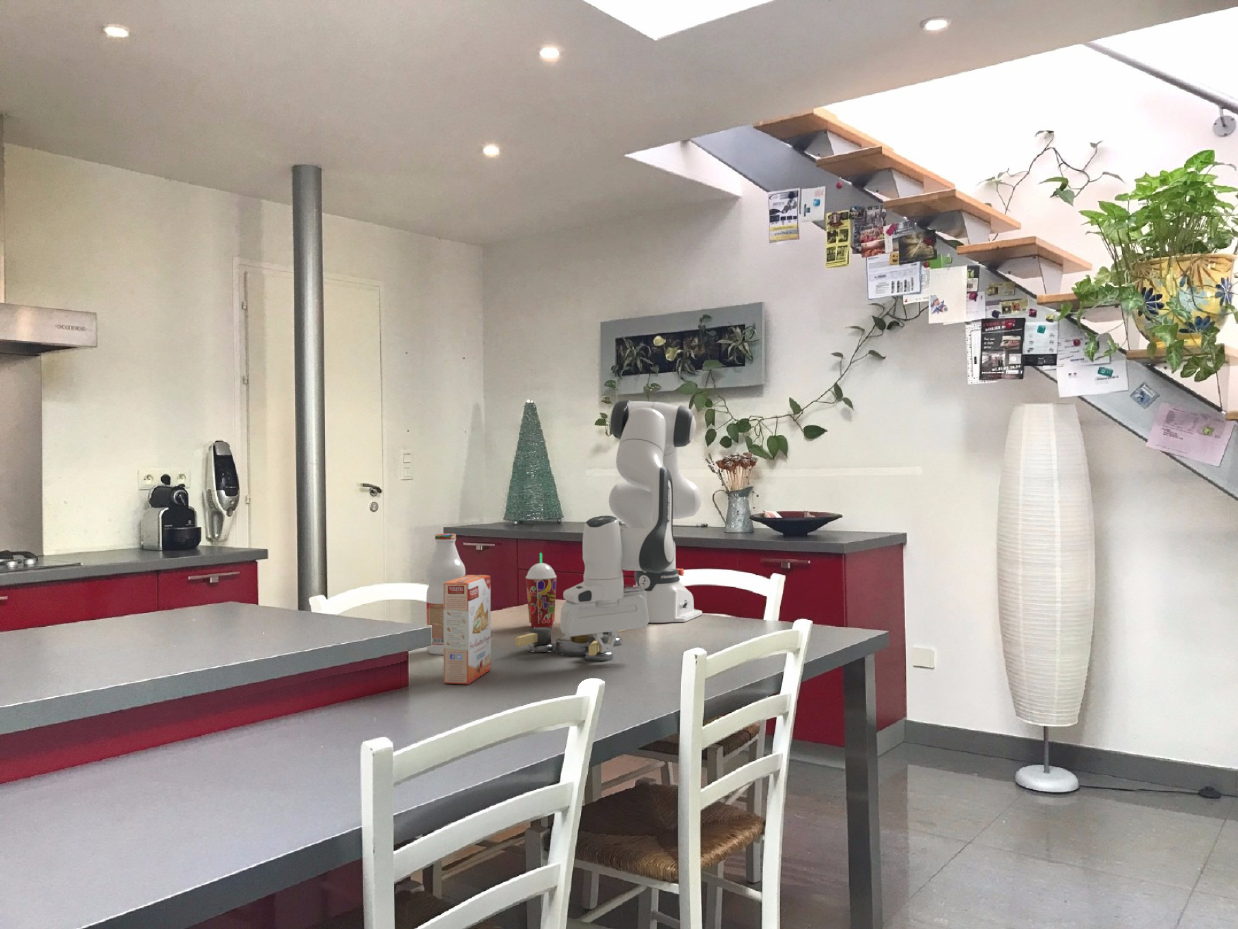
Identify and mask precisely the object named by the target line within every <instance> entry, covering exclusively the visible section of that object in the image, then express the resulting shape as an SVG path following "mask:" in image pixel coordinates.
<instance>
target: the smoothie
mask: <svg viewBox="0 0 1238 929" xmlns="http://www.w3.org/2000/svg"><path fill="white" fill-rule="evenodd" d="M555 572H556V571H555V570H554V569H553V568H552V566H551V565H549V564H547V563H544V562H543V553H542V552H540V553H539V562H537V563H535V564H534V565H532V566H531V567H530V568H529V569H528V572H527V573H526V574H527V575H525V579H526V580H525V583H526V597H527V598H526V599H527V610H528V611H527V612H528V623H530V625H531V626H532V627H531V628H533V627H535V628H538V627H549V628H552V627H553V625H554V624H553V623H554V622H555V620H556V619H555V617H556V616H555V615H556V614H555V613H556V598H557V597H556V594H557V592H556V591H557V575H556V573H555Z"/></svg>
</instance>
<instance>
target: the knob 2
mask: <svg viewBox="0 0 1238 929" xmlns="http://www.w3.org/2000/svg"><path fill="white" fill-rule="evenodd" d="M609 638H610V636H609V635H606V634H603V637H602V638H601V640H602V642H603V643H608V640H609ZM598 652H599V644H598V643H597V641H596V640H595V638H594V637H593V635H589V655H596V654H597V653H598Z"/></svg>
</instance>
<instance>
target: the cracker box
mask: <svg viewBox="0 0 1238 929" xmlns="http://www.w3.org/2000/svg"><path fill="white" fill-rule="evenodd" d="M491 580H492V578H491V575H489V574H488V575H487V574H465V576H463V577H460V578H457V579H454V580H450V581H447V582H444V584H443V588H444V590H443V614H444V655H443V684H452V685H470V684H471V683H473V682H474V681H476V680H478V679H479V678H480V676H481V677H482V676H484V675H485V674H487V673H488V671H489V672H490V671H491V668H492V666H491V664H492V663H491V652H492V651H491V648H492V646H491V644H492V643H491V640H492V639H491V637H492V636H491V634H492V632H491V630H492V628H491V624H492V622H491V610H492V609H491V604H492V602H491V601H492V600H491V598H492V597H491V591H492V589H491V585H492V584H491ZM486 672H487V673H486ZM483 674H484V675H483ZM477 678H478V679H477Z"/></svg>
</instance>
